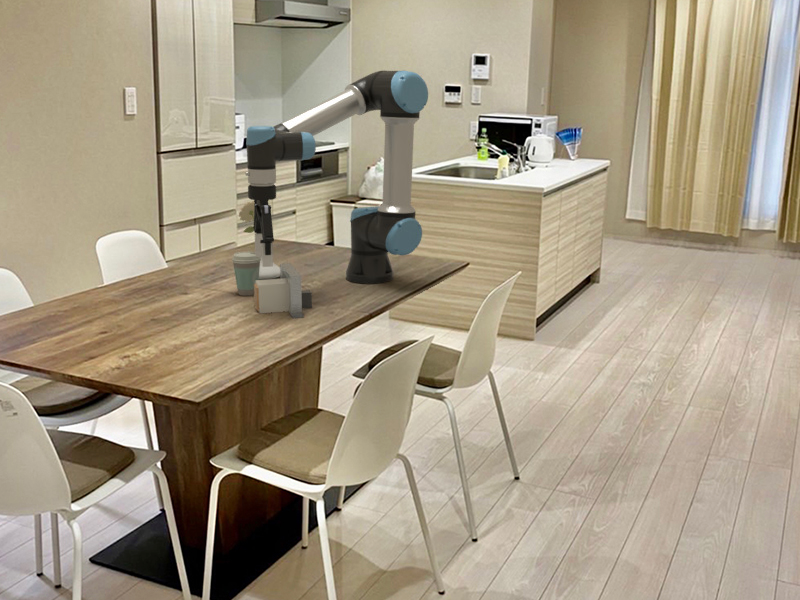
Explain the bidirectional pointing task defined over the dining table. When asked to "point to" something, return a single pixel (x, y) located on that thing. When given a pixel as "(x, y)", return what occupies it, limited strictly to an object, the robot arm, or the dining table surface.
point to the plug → (276, 296)
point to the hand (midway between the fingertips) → (263, 261)
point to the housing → (293, 289)
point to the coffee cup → (246, 271)
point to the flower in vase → (248, 215)
